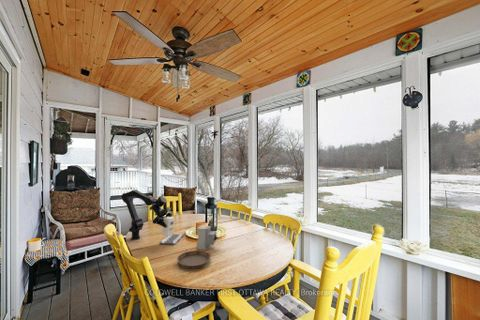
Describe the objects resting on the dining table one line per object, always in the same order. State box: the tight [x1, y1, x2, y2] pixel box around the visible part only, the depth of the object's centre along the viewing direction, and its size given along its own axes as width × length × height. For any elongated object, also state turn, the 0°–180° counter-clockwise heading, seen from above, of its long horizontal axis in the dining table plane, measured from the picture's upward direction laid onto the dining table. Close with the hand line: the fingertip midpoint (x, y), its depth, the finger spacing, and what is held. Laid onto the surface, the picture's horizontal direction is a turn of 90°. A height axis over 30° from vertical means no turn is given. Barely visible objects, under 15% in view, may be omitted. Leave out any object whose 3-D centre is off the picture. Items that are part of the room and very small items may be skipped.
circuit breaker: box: [196, 225, 218, 251], centre depth 160 cm, size 8×14×15 cm, turn 78°
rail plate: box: [159, 233, 185, 246], centre depth 175 cm, size 12×20×2 cm, turn 175°
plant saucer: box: [176, 250, 211, 269], centre depth 136 cm, size 21×21×3 cm
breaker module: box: [161, 216, 176, 237], centre depth 168 cm, size 7×6×13 cm
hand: (169, 226), depth 167 cm, fingers closed on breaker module, 7 cm apart
